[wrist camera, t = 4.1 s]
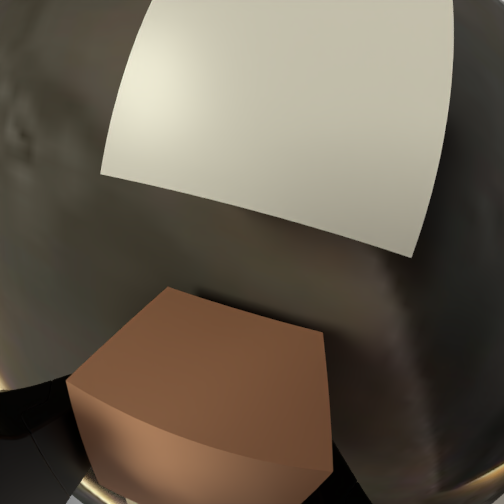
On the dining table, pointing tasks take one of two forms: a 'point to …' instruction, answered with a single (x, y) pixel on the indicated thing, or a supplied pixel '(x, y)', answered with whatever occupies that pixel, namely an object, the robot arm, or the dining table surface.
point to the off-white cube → (291, 109)
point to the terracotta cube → (206, 406)
